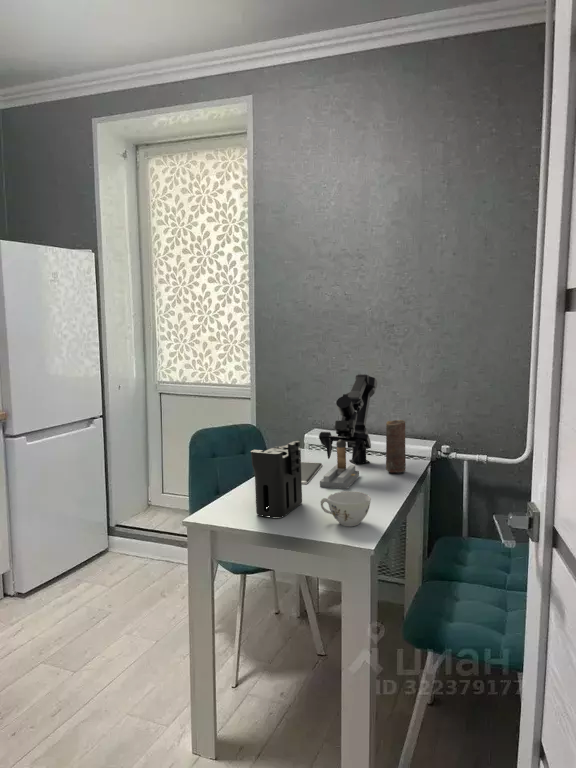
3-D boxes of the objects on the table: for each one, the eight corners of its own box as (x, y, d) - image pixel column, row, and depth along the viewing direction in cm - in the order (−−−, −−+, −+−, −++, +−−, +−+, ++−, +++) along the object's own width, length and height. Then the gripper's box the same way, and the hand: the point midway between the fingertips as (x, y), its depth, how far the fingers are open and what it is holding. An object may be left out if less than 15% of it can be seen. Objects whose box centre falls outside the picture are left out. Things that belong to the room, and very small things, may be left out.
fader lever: (338, 472, 217) (337, 438, 215) (347, 472, 216) (347, 438, 214) (335, 474, 214) (335, 440, 212) (345, 475, 212) (344, 440, 211)
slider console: (333, 474, 222) (333, 463, 222) (359, 475, 219) (359, 465, 218) (319, 486, 207) (319, 475, 206) (347, 488, 203) (346, 477, 202)
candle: (407, 474, 218) (406, 422, 216) (387, 475, 218) (387, 423, 216) (403, 469, 226) (403, 418, 223) (384, 470, 226) (384, 419, 223)
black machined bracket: (252, 517, 178) (249, 446, 175) (281, 497, 196) (279, 433, 194) (286, 521, 173) (284, 449, 170) (313, 501, 191) (312, 435, 189)
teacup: (375, 518, 173) (375, 492, 172) (365, 533, 162) (364, 505, 161) (327, 513, 179) (327, 488, 178) (314, 527, 167) (313, 500, 166)
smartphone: (271, 484, 214) (271, 480, 213) (290, 465, 239) (290, 461, 239) (306, 486, 210) (306, 481, 210) (322, 466, 236) (322, 462, 236)
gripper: (319, 410, 219) (310, 445, 210) (368, 412, 212) (361, 448, 203) (326, 427, 227) (318, 461, 218) (373, 429, 220) (367, 464, 212)
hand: (340, 458), depth 213 cm, fingers open, 9 cm apart
